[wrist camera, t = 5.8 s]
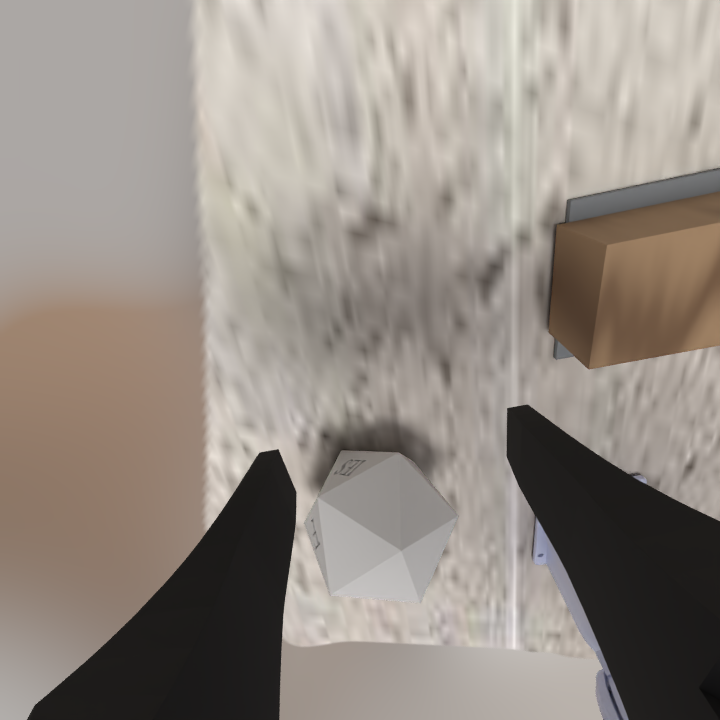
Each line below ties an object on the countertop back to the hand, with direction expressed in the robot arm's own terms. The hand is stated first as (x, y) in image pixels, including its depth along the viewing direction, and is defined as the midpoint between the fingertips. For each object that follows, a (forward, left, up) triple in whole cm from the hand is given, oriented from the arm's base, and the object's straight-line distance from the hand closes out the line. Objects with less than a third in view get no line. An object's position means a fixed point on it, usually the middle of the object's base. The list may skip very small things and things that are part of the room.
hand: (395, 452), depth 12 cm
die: (-12, +2, -11) cm, 16 cm away
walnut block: (0, -10, -8) cm, 13 cm away
